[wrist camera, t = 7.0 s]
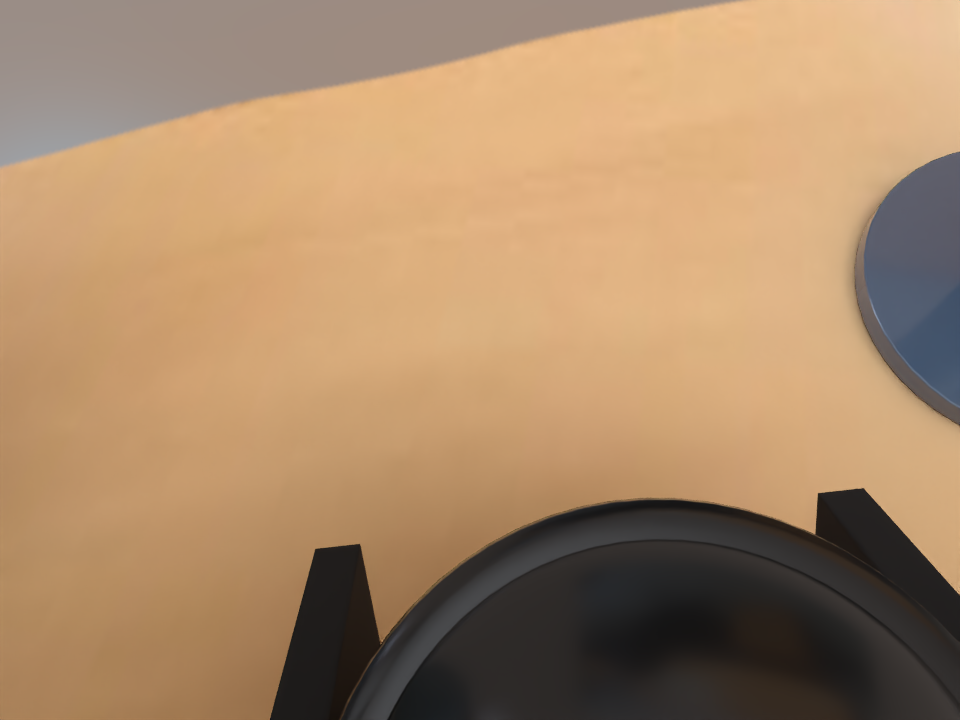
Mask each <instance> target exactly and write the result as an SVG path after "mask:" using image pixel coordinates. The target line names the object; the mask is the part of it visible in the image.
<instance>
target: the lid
mask: <svg viewBox="0 0 960 720" xmlns="http://www.w3.org/2000/svg"><path fill="white" fill-rule="evenodd" d="M855 287H856V293H857V299H858V305H859V308H860V311H861V314H862V317H863V321H864V324H865V326H866V328H867V330H868V332H869V334H870V336H871V338H872V341H873V343H874V344H875V346H876V347H877V349H878V351H879V352H880V354H881V355H882V357H883V358H884V360H885V361H886V363H887V364H888V365H889V366H890V368H891V369H892V370H893V371H894V372H895V374H896V375H897V376H898V377H899V379H900V380H901V381H902V382H904V383H905V384H906V385H907V386H908V387H909V388H910V389H911V390H912V391H913V392H914V393H915V394H916V395H917V396H918V397H919V398H921V399H922V400H923V401H925V402H926V403H927V404H928V405H930V406H931V407H932V408H934V409H935V410H936V411H938V412H939V413H941V414H943V415H944V416H946V417H947V418H949V419H951V420H952V421H954V422H955V423H957V424H959V425H960V152H956V153H952V154H949V155H946V156H944V157H941V158H938V159H936V160H933V161H931V162H929V163H927V164H925V165H924V166H922V167H920V168H918V169H916V170H915V171H913V172H912V173H911V174H909V175H908V176H906V177H905V178H904V179H902V180H901V181H900V182H899V183H898V184H897V185H896V186H895V187H894V188H893V189H892V190H891V191H890V192H889V193H888V195H887V196H886V197H885V199H884V200H883V201H882V203H881V204H880V206H879V207H878V208H877V210H876V211H875V212H874V214H873V215H872V217H871V218H870V220H869V222H868V224H867V226H866V228H865V230H864V232H863V234H862V237H861V240H860V243H859V246H858V250H857V256H856V263H855Z"/></svg>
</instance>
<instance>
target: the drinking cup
mask: <svg viewBox="0 0 960 720" xmlns="http://www.w3.org/2000/svg"><path fill="white" fill-rule="evenodd" d="M338 720H960V642H959V641H958V640H957V639H956V638H955V637H954V636H953V635H952V634H951V633H950V632H949V631H948V630H947V629H946V628H945V627H944V626H943V625H942V624H941V623H940V622H939V621H938V620H937V619H936V618H935V617H934V616H933V615H932V614H931V613H930V612H928V611H927V610H926V609H925V608H924V607H923V606H921V605H920V604H919V603H918V602H917V601H916V600H915V599H913V598H912V597H911V596H910V595H909V594H908V593H907V592H905V591H904V590H903V589H902V588H900V587H899V586H898V585H896V584H895V583H893V582H892V581H891V580H889V579H888V578H887V577H885V576H884V575H883V574H881V573H880V572H879V571H877V570H876V569H874V568H873V567H871V566H870V565H868V564H867V563H865V562H863V561H862V560H860V559H858V558H857V557H855V556H854V555H852V554H850V553H849V552H847V551H846V550H844V549H842V548H840V547H839V546H837V545H835V544H833V543H831V542H829V541H827V540H825V539H823V538H821V537H819V536H817V535H815V534H813V533H811V532H808V531H806V530H804V529H801V528H799V527H796V526H794V525H791V524H789V523H786V522H784V521H781V520H779V519H776V518H773V517H770V516H766V515H763V514H759V513H756V512H753V511H750V510H747V509H742V508H738V507H733V506H728V505H723V504H718V503H714V502H707V501H697V500H688V499H676V498H637V499H627V500H614V501H607V502H602V503H597V504H592V505H586V506H581V507H577V508H573V509H570V510H567V511H563V512H560V513H556V514H553V515H550V516H547V517H544V518H542V519H539V520H537V521H535V522H532V523H530V524H527V525H524V526H522V527H520V528H518V529H515V530H514V531H512V532H510V533H508V534H506V535H504V536H502V537H500V538H498V539H496V540H494V541H493V542H491V543H489V544H488V545H486V546H484V547H483V548H481V549H480V550H479V551H477V552H475V553H474V554H472V555H471V556H469V557H468V558H466V559H465V560H463V561H462V562H461V563H459V564H458V565H457V566H456V567H454V568H453V569H452V570H451V571H449V572H448V573H447V574H446V575H444V576H443V577H442V578H441V579H439V580H438V581H437V582H436V583H435V584H434V585H433V586H432V587H431V588H430V589H429V590H428V591H427V592H426V593H425V594H424V595H423V596H422V597H420V598H419V599H418V600H417V601H416V602H415V603H414V604H413V606H412V607H411V608H410V609H409V610H408V611H407V612H406V613H405V615H404V616H403V617H402V618H401V619H400V621H399V622H398V623H397V624H396V625H395V626H394V627H393V629H392V630H391V631H390V633H389V634H388V635H387V636H386V638H385V639H384V641H383V642H382V644H381V645H380V646H379V648H378V649H377V651H376V652H375V654H374V655H373V656H372V658H371V659H370V661H369V663H368V664H367V666H366V667H365V669H364V671H363V673H362V674H361V676H360V678H359V680H358V681H357V683H356V685H355V686H354V688H353V690H352V692H351V694H350V696H349V698H348V699H347V702H346V704H345V706H344V708H343V711H342V713H341V715H340V717H339V719H338Z"/></svg>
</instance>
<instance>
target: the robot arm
mask: <svg viewBox="0 0 960 720" xmlns="http://www.w3.org/2000/svg"><path fill="white" fill-rule="evenodd" d="M815 535H817V536H819V537H821V538H823V539H825V540H827V541H829V542H831V543H833V544H835V545H837V546H839V547H840V548H842V549H844V550H846V551H847V552H849V553H850V554H852V555H854V556H855V557H857V558H858V559H860V560H862V561H863V562H865V563H867V564H868V565H870V566H871V567H873V568H874V569H876V570H877V571H879V572H880V573H881V574H883V575H884V576H885V577H887V578H888V579H889V580H891V581H892V582H893V583H895V584H896V585H898V586H899V587H900V588H902V589H903V590H904V591H905V592H907V593H908V594H909V595H910V596H911V597H912V598H913V599H915V600H916V601H917V602H918V603H919V604H920V605H921V606H923V607H924V608H925V609H926V610H927V611H928V612H930V613H931V614H932V615H933V616H934V617H935V618H936V619H937V620H938V621H939V622H940V623H941V624H942V625H943V626H944V627H945V628H946V629H947V630H948V631H949V632H950V633H951V634H952V635H953V636H954V637H955V638H956V639H957V640H958V641H959V642H960V595H959V594H958V593H957V592H956V591H955V590H954V589H953V587H952V586H951V585H950V584H949V583H948V582H947V581H946V580H945V579H944V577H943V576H942V575H941V574H940V573H939V572H938V571H937V570H936V569H935V567H934V566H933V565H932V564H931V563H930V562H929V561H928V560H927V558H926V557H925V556H924V555H923V554H922V553H921V552H920V551H919V550H918V548H917V547H916V546H915V545H914V544H913V543H912V542H911V541H910V540H909V538H908V537H907V536H906V535H905V534H904V533H903V532H902V531H901V530H900V528H899V527H898V526H897V525H896V524H895V523H894V522H893V521H892V519H891V518H890V517H889V516H888V515H887V514H886V513H885V512H884V511H883V509H882V508H881V507H880V506H879V505H878V504H877V503H876V502H875V501H874V499H873V498H872V497H871V496H870V495H869V494H868V493H867V492H866V491H865V489H864V488H862V489H853V490H844V491H835V492H825V493H818V502H817V518H816V534H815ZM379 646H380V640H379V635H378V630H377V625H376V620H375V615H374V610H373V605H372V600H371V595H370V590H369V586H368V581H367V576H366V571H365V566H364V561H363V556H362V551H361V546H360V544H356V545H347V546H338V547H329V548H320V549H315V552H314V556H313V560H312V564H311V567H310V571H309V575H308V579H307V582H306V586H305V590H304V594H303V597H302V601H301V605H300V609H299V612H298V616H297V620H296V624H295V627H294V631H293V635H292V639H291V642H290V646H289V650H288V654H287V657H286V661H285V665H284V669H283V672H282V676H281V680H280V684H279V687H278V691H277V695H276V699H275V702H274V706H273V710H272V713H271V717H270V720H338V719H339V717H340V715H341V713H342V711H343V708H344V706H345V704H346V702H347V699H348V698H349V696H350V694H351V692H352V690H353V688H354V686H355V685H356V683H357V681H358V680H359V678H360V676H361V674H362V673H363V671H364V669H365V667H366V666H367V664H368V663H369V661H370V659H371V658H372V656H373V655H374V654H375V652H376V651H377V649H378V648H379Z"/></svg>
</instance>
